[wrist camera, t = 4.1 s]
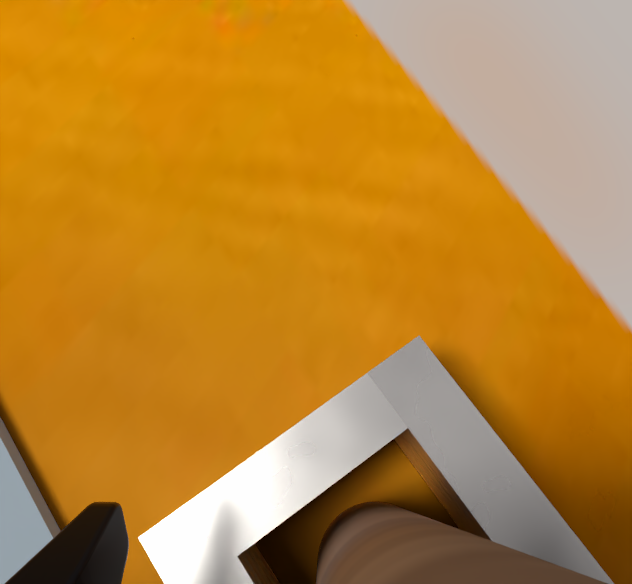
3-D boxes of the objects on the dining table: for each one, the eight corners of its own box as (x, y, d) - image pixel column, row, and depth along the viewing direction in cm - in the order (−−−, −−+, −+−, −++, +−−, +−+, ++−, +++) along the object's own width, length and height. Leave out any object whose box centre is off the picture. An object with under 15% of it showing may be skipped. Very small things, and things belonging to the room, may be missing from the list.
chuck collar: (589, 604, 14) (654, 635, 12) (344, 818, 13) (350, 912, 10) (402, 360, 16) (419, 335, 13) (173, 526, 15) (138, 537, 12)
